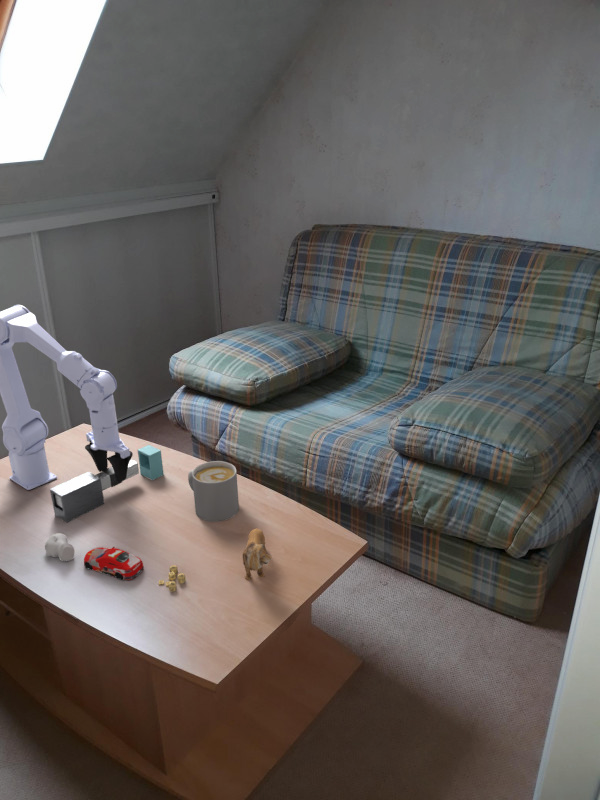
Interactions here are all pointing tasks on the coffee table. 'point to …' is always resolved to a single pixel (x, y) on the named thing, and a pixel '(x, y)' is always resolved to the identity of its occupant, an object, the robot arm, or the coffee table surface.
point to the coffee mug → (215, 490)
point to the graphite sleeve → (77, 496)
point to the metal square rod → (110, 478)
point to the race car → (114, 562)
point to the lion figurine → (255, 553)
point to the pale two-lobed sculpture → (59, 547)
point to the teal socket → (150, 462)
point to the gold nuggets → (172, 576)
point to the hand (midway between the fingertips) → (112, 475)
